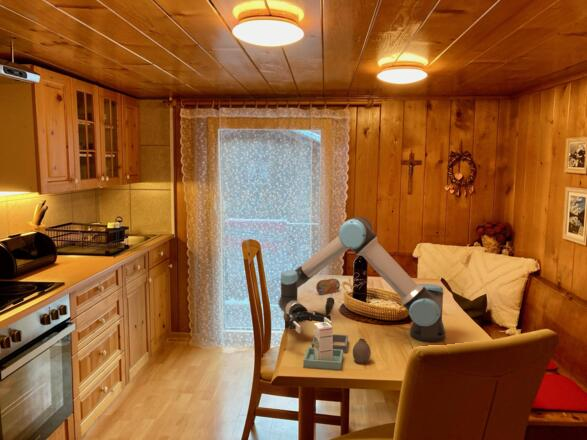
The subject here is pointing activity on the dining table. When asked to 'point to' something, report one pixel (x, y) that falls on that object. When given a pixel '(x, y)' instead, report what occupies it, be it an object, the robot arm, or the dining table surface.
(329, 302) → the hand tool
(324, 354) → the syrup box
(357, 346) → the vase
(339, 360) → the bin
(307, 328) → the dining table surface
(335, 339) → the bin
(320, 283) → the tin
